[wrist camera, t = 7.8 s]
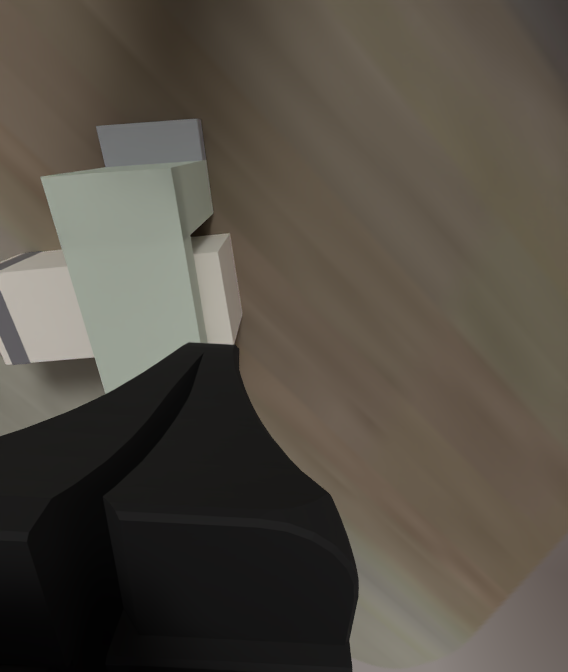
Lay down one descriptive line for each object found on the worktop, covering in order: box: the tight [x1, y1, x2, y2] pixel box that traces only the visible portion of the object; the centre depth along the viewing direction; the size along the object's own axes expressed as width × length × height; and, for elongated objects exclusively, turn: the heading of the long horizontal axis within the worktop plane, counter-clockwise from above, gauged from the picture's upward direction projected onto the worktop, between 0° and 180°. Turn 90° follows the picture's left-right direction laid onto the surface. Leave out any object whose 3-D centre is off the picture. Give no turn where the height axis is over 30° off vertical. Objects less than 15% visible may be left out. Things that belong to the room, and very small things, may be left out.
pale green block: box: [41, 119, 213, 394], centre depth 17 cm, size 13×4×6 cm, turn 4°
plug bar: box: [0, 233, 243, 365], centre depth 18 cm, size 4×10×4 cm, turn 96°
